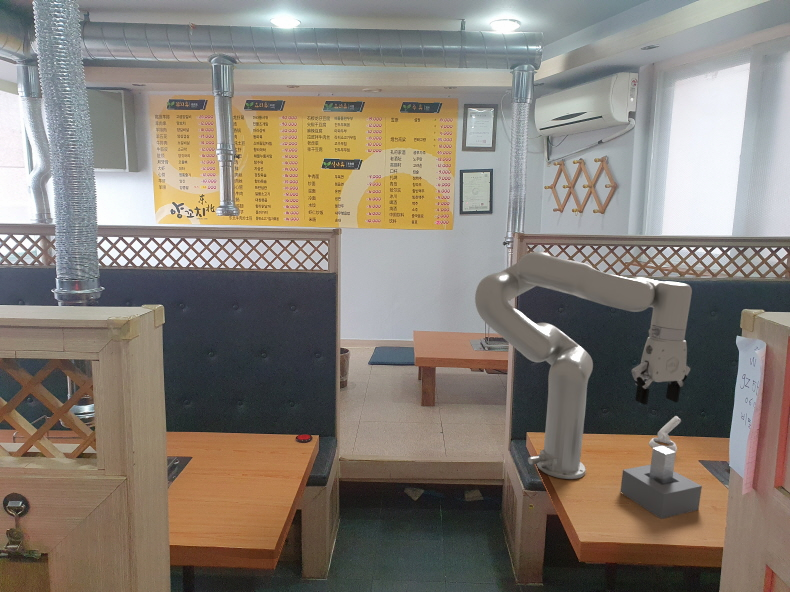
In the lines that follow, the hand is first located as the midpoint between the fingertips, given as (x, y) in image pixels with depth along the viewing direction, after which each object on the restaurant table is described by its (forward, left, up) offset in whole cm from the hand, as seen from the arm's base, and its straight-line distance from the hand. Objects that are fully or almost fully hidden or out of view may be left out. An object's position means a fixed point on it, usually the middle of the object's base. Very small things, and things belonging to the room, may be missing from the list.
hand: (656, 401), depth 128 cm
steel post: (-2, -5, -23) cm, 24 cm away
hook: (+26, +18, -23) cm, 40 cm away
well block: (-2, -5, -23) cm, 24 cm away
